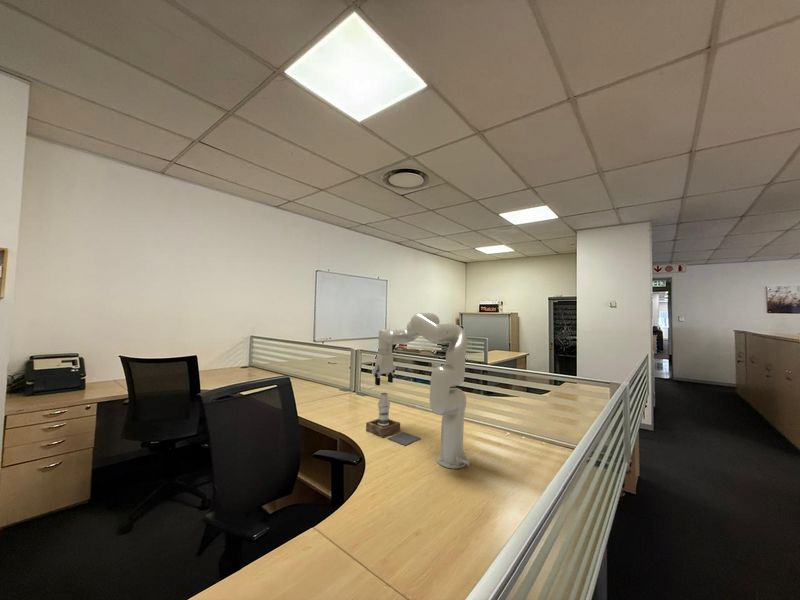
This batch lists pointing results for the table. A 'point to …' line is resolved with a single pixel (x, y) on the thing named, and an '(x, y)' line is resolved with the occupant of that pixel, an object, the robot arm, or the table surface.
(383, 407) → the plastic bottle
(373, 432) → the box
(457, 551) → the table surface
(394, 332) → the robot arm
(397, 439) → the mat
